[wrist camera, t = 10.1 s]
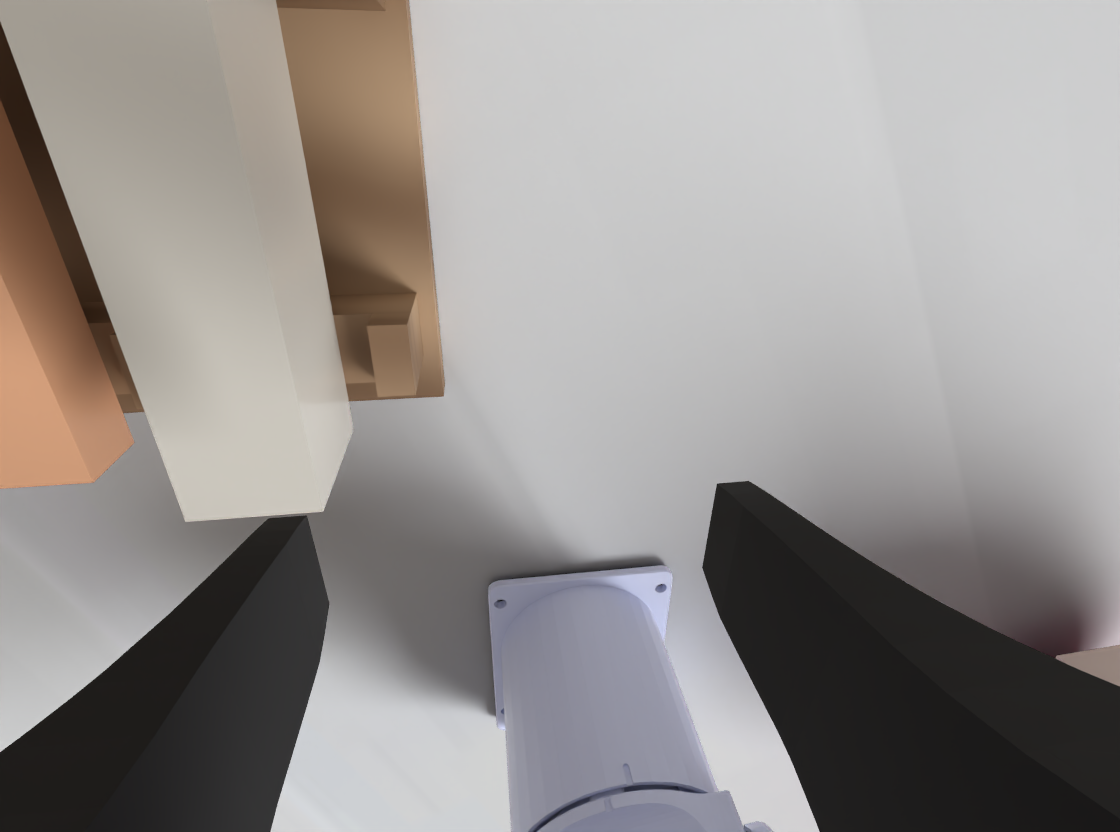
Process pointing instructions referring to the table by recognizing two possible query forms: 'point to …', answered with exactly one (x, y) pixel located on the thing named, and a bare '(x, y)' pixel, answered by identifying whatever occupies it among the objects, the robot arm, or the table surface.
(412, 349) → the slotted wooden stand
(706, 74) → the table surface
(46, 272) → the fired strip
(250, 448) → the pale grey bar
